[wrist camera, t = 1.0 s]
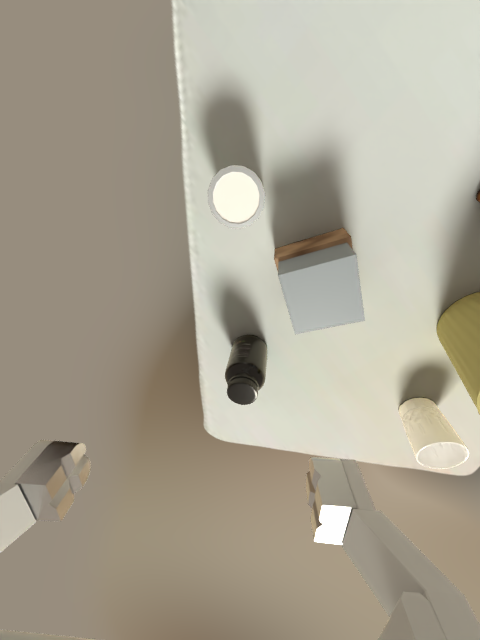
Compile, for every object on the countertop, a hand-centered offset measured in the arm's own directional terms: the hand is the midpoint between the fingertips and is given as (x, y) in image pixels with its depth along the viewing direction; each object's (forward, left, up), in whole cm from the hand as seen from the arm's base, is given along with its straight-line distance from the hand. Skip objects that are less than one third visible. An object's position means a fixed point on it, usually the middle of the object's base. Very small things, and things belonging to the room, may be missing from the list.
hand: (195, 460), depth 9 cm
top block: (-6, +8, -30) cm, 32 cm away
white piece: (+1, -6, -35) cm, 36 cm away
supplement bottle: (+9, +20, -35) cm, 41 cm away
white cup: (-19, +43, -35) cm, 59 cm away
